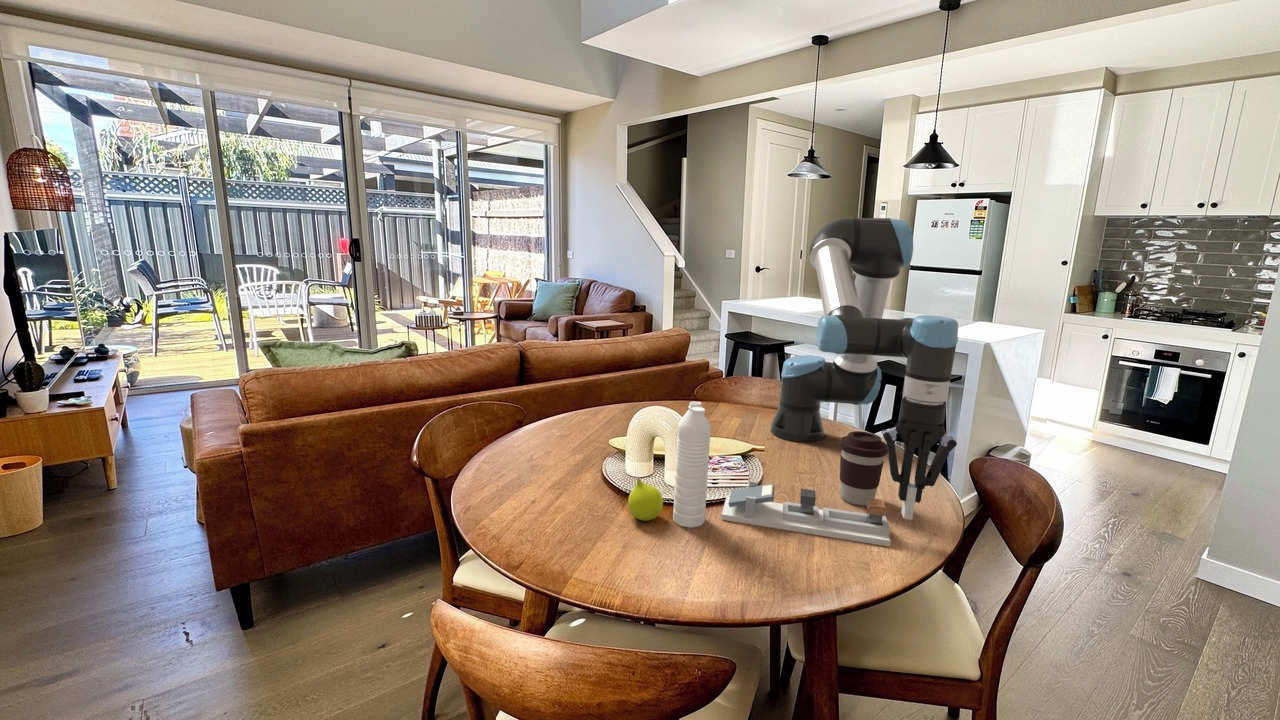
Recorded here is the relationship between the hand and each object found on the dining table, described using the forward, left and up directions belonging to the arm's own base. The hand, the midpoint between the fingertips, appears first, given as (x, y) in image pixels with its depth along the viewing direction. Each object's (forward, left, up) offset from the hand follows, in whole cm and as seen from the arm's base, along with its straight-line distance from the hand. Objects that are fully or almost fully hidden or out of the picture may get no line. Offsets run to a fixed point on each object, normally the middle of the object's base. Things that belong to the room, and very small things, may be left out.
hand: (906, 515), depth 109 cm
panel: (0, -19, -5) cm, 20 cm away
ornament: (+9, -50, -5) cm, 51 cm away
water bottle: (+8, -41, -5) cm, 42 cm away
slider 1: (0, -19, -3) cm, 19 cm away
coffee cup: (-15, -7, -5) cm, 17 cm away
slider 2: (0, -6, -3) cm, 6 cm away
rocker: (0, -30, 0) cm, 30 cm away
